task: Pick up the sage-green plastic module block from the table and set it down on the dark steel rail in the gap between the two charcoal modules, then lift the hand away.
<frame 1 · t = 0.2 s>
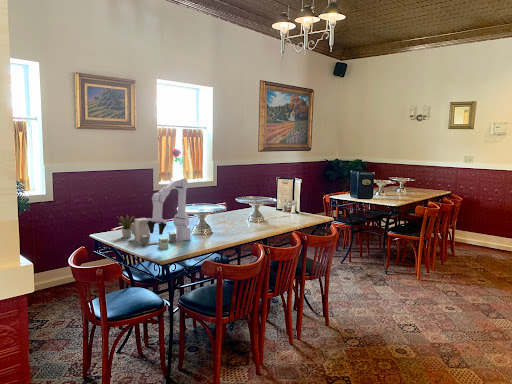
hand: (156, 233, 243), 10 cm above the table, tool pointing down, fingers open, 7 cm apart
module block: (163, 247, 251), on the table
steel rail: (158, 243, 260), on the table
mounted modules: (158, 238, 260), on the steel rail, point 3 cm above the table
house plant: (124, 237, 275), on the table
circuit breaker: (140, 239, 269), on the table
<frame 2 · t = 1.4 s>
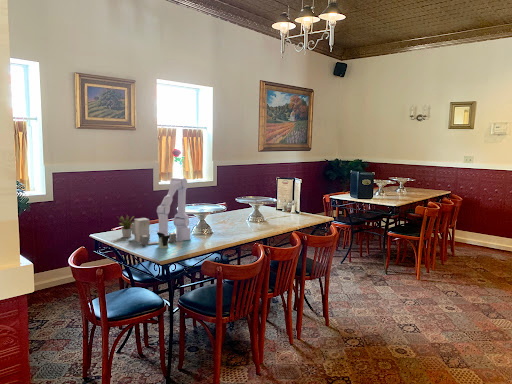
hand: (163, 244, 250), 2 cm above the table, tool pointing down, fingers open, 7 cm apart
nothing on the table moved.
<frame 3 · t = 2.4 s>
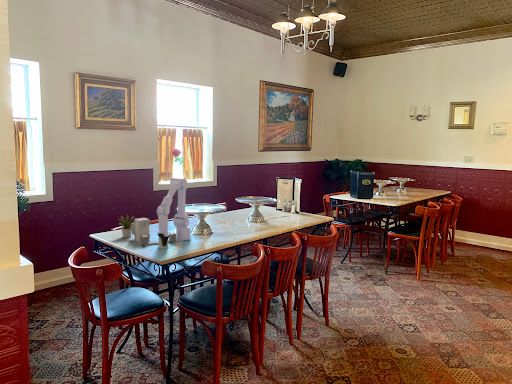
hand: (163, 245, 250), 1 cm above the table, tool pointing down, fingers closed on module block, 4 cm apart
module block: (163, 247, 251), on the table, touching gripper
everything else where it was.
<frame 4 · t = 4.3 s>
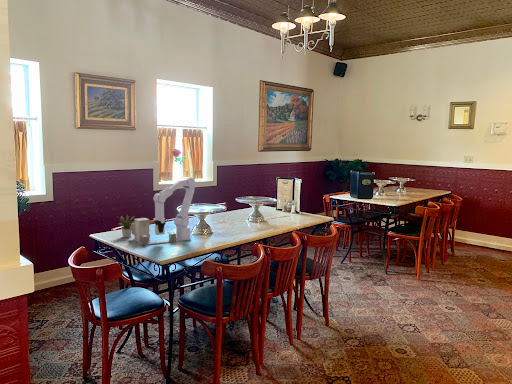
hand: (159, 231, 257), 8 cm above the table, tool pointing down, fingers closed on module block, 4 cm apart
module block: (159, 234, 257), point 7 cm above the table, touching gripper
everything else where it was.
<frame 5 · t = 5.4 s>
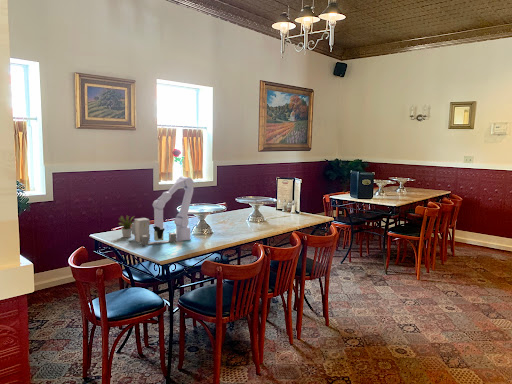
hand: (158, 237, 260), 4 cm above the table, tool pointing down, fingers closed on module block, 4 cm apart
module block: (158, 240, 260), point 2 cm above the table, touching gripper
everything else where it was.
when the fingers open (4 cm above the table, at t = 6.2 s): module block drops 1 cm, resting on steel rail.
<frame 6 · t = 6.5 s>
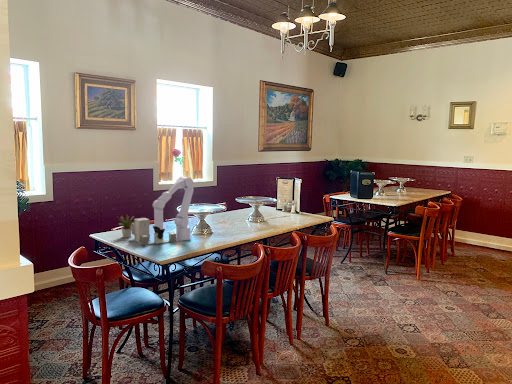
hand: (158, 237, 260), 4 cm above the table, tool pointing down, fingers open, 7 cm apart
module block: (158, 242, 260), point 1 cm above the table, touching steel rail
everything else where it was.
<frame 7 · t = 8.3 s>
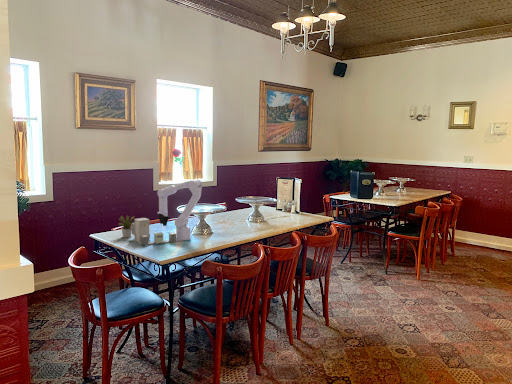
hand: (163, 224, 275), 9 cm above the table, tool pointing down, fingers open, 7 cm apart
nothing on the table moved.
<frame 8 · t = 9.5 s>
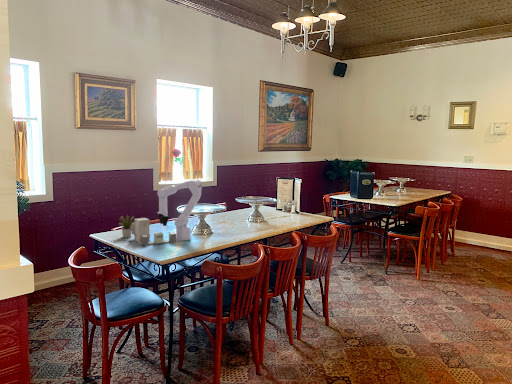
hand: (163, 224, 275), 9 cm above the table, tool pointing down, fingers open, 7 cm apart
nothing on the table moved.
at the end: module block 0.1 cm off-centre on the steel rail, point 0.8 cm above the steel rail's base; module block tilted 0°; the gripper is holding nothing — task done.
